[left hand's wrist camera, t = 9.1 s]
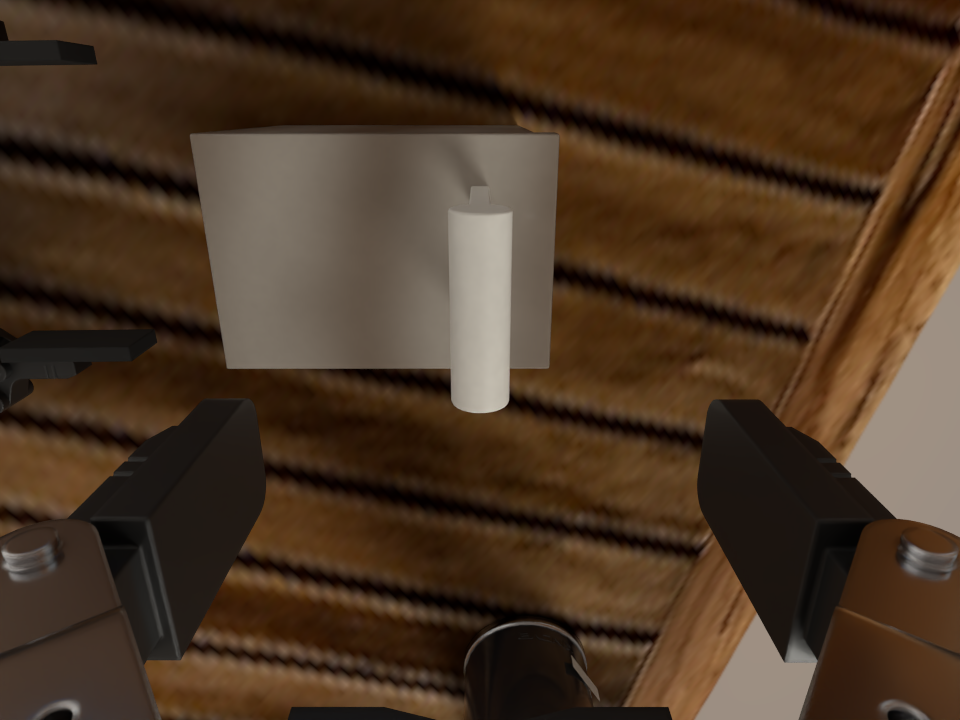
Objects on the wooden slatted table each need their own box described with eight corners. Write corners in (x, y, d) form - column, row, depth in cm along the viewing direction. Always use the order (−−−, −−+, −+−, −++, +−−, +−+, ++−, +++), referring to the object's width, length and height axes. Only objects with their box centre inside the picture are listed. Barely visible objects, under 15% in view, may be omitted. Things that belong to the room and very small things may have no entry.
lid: (556, 132, 25) (595, 144, 16) (546, 359, 28) (574, 463, 20) (201, 132, 25) (60, 144, 16) (236, 359, 28) (134, 463, 20)
